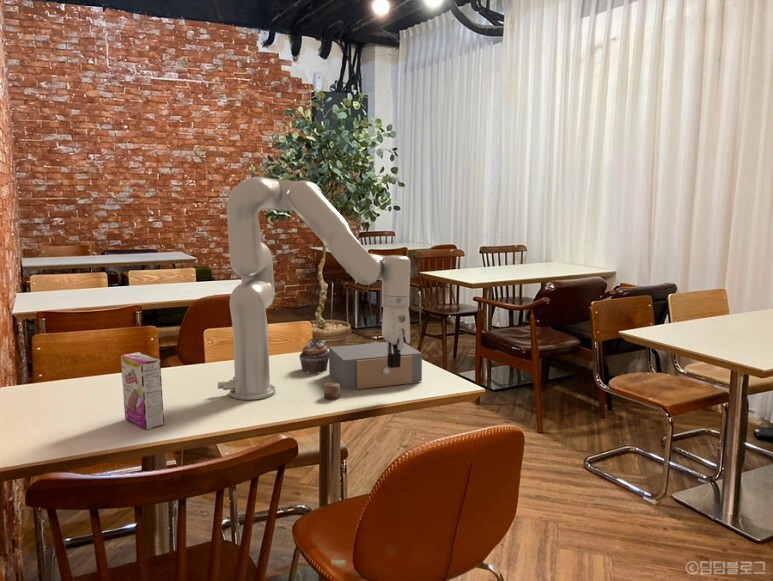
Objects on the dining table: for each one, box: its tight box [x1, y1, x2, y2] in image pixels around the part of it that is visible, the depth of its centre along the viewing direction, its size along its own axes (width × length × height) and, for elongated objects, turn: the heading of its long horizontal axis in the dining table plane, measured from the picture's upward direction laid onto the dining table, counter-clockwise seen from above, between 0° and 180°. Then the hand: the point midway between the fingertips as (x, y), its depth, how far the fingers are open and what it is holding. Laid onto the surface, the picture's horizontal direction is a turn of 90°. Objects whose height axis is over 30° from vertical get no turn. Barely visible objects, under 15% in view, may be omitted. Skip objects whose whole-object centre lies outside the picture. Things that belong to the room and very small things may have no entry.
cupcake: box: [298, 337, 329, 374], centre depth 193 cm, size 10×10×10 cm
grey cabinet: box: [328, 341, 423, 391], centre depth 184 cm, size 17×24×9 cm
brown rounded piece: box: [323, 382, 341, 401], centre depth 166 cm, size 4×4×4 cm
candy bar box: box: [120, 351, 165, 430], centre depth 146 cm, size 11×5×16 cm, turn 48°
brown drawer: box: [356, 355, 413, 390], centre depth 183 cm, size 18×17×8 cm
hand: (393, 366), depth 167 cm, fingers closed
